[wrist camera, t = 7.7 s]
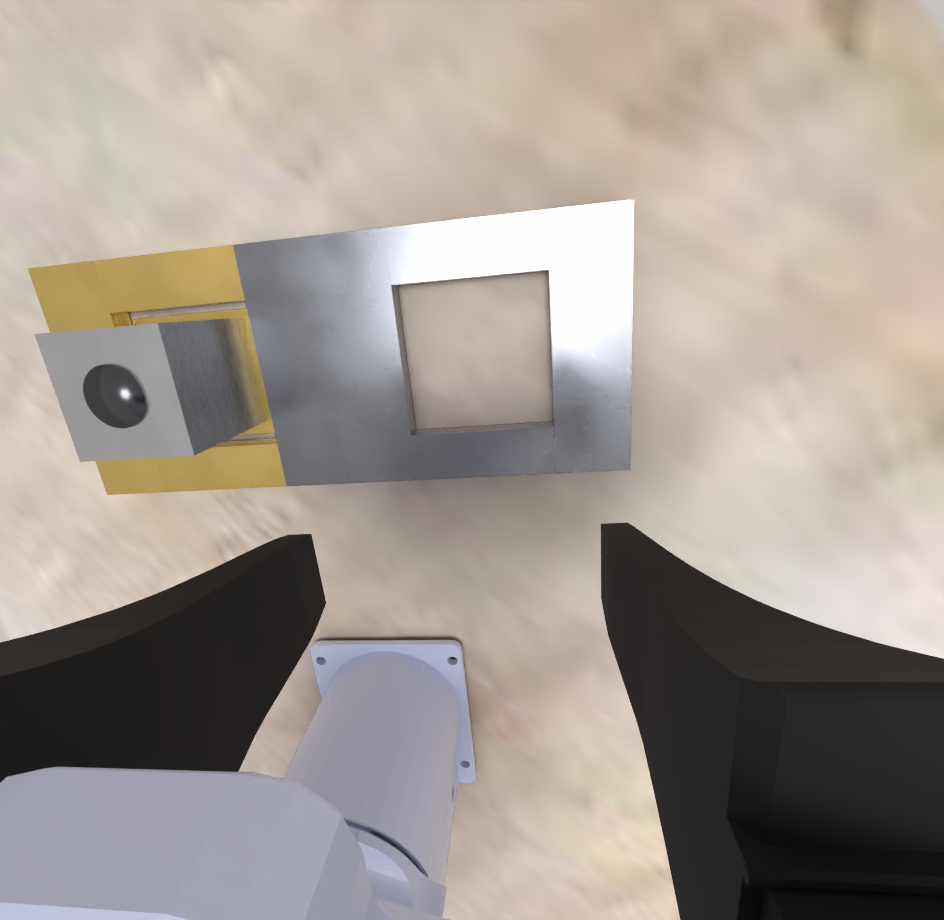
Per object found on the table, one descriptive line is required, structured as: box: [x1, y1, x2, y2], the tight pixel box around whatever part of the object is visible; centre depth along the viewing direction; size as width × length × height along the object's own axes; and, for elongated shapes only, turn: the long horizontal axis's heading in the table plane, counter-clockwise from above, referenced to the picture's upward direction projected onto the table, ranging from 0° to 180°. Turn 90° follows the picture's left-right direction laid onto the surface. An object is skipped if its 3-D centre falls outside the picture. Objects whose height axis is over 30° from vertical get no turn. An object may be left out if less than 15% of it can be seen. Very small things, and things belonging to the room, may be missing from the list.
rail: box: [28, 199, 634, 495], centre depth 20 cm, size 10×24×1 cm, turn 95°
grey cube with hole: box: [35, 318, 266, 462], centre depth 19 cm, size 4×4×5 cm
